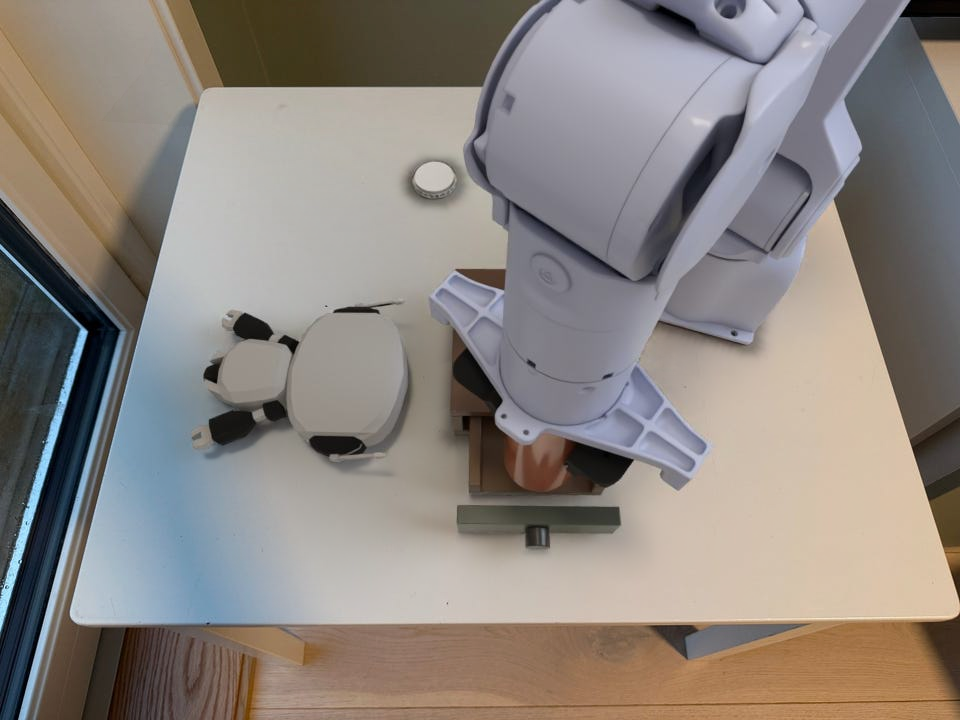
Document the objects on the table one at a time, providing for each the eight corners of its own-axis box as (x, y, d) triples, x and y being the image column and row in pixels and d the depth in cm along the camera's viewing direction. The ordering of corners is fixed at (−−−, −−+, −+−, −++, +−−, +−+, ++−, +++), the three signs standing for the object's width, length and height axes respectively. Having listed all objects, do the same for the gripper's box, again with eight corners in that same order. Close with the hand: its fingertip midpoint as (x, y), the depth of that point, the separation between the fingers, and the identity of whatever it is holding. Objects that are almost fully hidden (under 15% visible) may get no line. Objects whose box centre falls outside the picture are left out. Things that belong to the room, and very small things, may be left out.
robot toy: (202, 468, 45) (404, 474, 44) (170, 448, 41) (391, 454, 40) (239, 322, 51) (420, 324, 49) (214, 292, 47) (410, 293, 45)
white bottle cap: (411, 198, 55) (411, 193, 55) (413, 164, 57) (412, 159, 56) (456, 198, 55) (456, 193, 55) (456, 164, 57) (456, 159, 56)
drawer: (614, 552, 41) (623, 545, 38) (457, 550, 41) (456, 543, 38) (600, 390, 46) (607, 374, 44) (461, 389, 46) (460, 373, 44)
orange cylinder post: (581, 435, 41) (615, 358, 31) (563, 501, 39) (593, 442, 29) (515, 415, 42) (526, 332, 31) (494, 478, 40) (498, 413, 29)
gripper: (369, 287, 25) (406, 411, 37) (686, 514, 21) (610, 570, 33) (479, 181, 27) (480, 330, 39) (781, 366, 23) (678, 469, 35)
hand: (544, 433), depth 36 cm, fingers closed on orange cylinder post, 4 cm apart
